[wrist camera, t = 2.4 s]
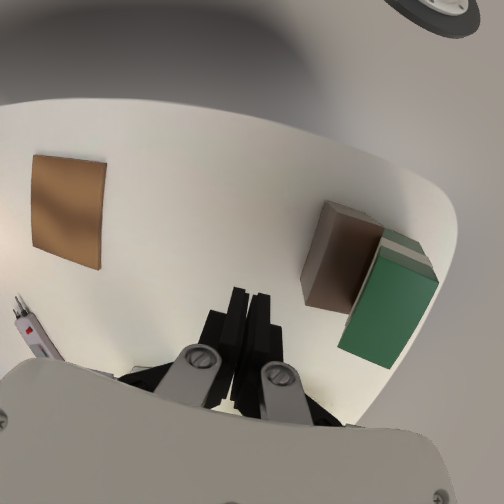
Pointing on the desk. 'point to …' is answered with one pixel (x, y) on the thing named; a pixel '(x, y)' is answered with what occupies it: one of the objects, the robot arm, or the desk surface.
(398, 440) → the robot arm
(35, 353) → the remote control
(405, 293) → the block
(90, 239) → the coaster
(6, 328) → the desk surface
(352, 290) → the block
